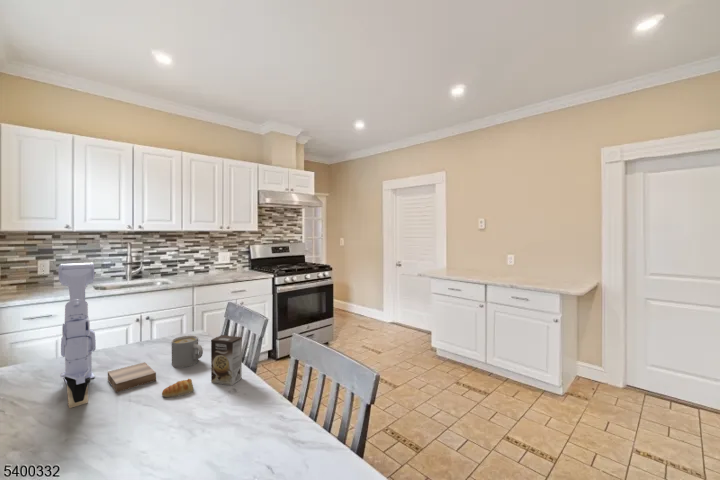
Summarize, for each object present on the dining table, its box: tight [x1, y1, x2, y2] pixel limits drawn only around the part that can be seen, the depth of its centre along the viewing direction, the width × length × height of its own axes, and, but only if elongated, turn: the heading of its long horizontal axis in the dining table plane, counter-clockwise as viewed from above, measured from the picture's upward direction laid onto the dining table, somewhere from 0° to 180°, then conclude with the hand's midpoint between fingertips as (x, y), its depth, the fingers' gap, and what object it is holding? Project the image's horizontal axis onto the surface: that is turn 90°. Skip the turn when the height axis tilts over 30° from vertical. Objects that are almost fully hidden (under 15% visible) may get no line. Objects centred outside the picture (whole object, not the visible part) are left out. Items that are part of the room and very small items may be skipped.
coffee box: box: [210, 334, 243, 386], centre depth 120 cm, size 9×6×16 cm
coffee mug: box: [171, 335, 204, 369], centre depth 136 cm, size 13×10×10 cm
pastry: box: [161, 378, 194, 398], centre depth 112 cm, size 9×7×4 cm
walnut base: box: [107, 361, 157, 393], centre depth 120 cm, size 14×12×3 cm
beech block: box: [66, 385, 89, 409], centre depth 104 cm, size 4×4×6 cm
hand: (77, 398), depth 104 cm, fingers closed on beech block, 4 cm apart
